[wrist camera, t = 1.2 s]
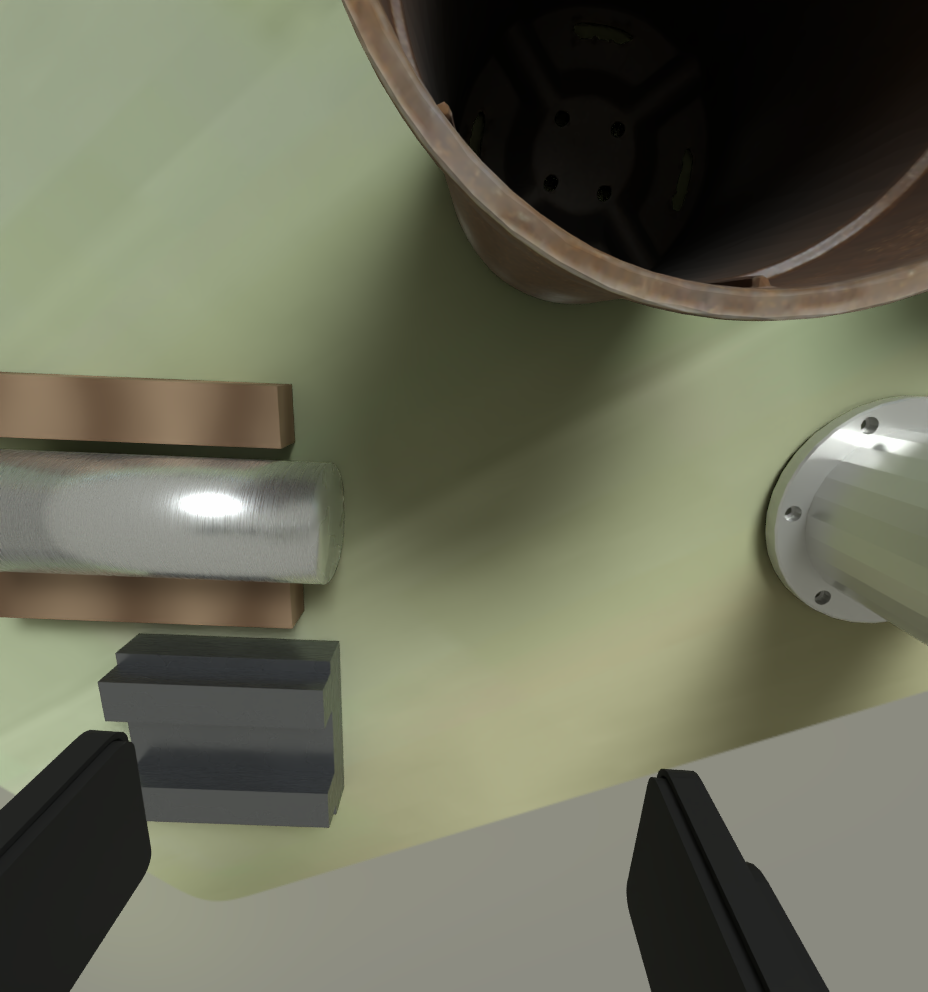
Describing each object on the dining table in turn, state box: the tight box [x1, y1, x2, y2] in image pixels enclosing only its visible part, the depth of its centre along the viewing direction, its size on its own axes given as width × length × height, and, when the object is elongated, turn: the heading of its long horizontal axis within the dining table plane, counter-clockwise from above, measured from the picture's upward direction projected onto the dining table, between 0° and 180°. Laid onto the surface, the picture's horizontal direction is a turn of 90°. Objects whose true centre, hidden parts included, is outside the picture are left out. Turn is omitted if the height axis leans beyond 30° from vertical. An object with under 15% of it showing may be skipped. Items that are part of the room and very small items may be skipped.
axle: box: [0, 449, 344, 584], centre depth 24 cm, size 16×6×6 cm, turn 88°
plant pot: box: [342, 0, 928, 321], centre depth 14 cm, size 16×16×16 cm
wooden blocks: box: [0, 372, 304, 628], centre depth 25 cm, size 16×13×2 cm
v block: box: [98, 634, 344, 828], centre depth 28 cm, size 12×11×4 cm
